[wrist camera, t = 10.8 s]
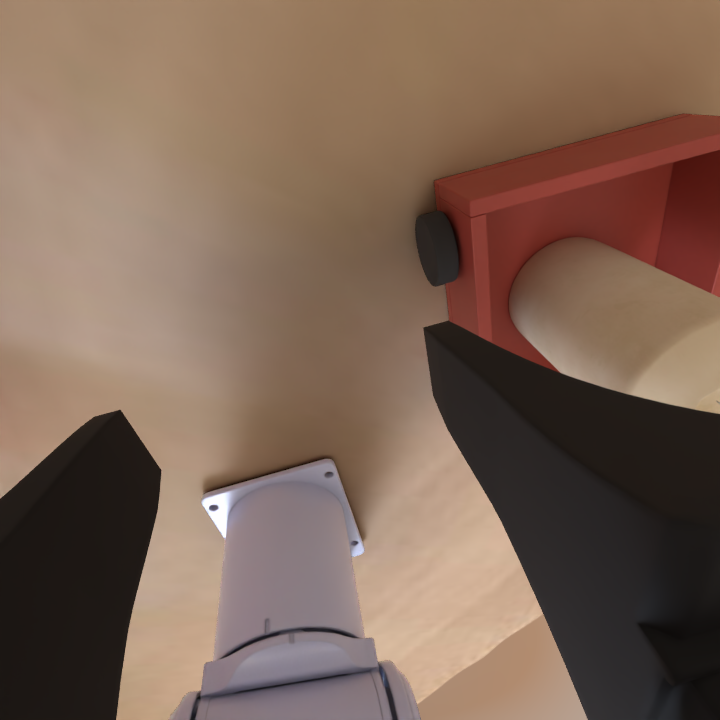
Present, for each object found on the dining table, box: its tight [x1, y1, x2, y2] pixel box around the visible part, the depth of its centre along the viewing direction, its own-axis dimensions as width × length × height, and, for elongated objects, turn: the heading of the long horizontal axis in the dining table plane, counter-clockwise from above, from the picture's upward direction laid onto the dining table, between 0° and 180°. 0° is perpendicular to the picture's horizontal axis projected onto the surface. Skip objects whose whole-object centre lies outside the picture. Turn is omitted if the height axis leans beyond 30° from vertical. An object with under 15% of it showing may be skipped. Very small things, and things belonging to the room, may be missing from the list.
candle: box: [509, 237, 720, 414], centre depth 17 cm, size 6×6×10 cm
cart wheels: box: [415, 211, 459, 286], centre depth 22 cm, size 17×13×3 cm
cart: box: [434, 114, 720, 373], centre depth 20 cm, size 13×11×4 cm
